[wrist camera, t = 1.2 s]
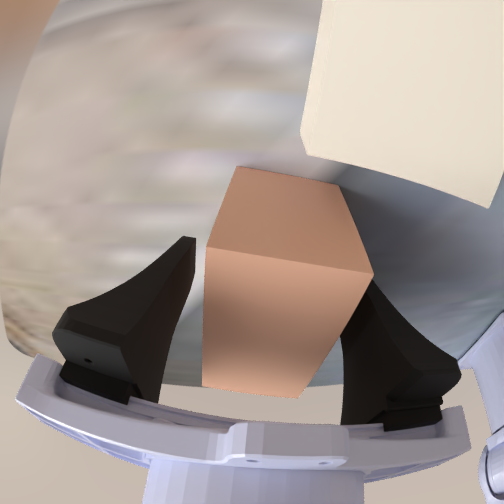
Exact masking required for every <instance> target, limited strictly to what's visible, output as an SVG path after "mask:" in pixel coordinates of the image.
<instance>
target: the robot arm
mask: <svg viewBox="0 0 504 504" xmlns="http://www.w3.org/2000/svg"><path fill="white" fill-rule="evenodd" d="M195 256H196V238H192V237H186V236H183V237H181V238H180V239H179V240H178V241H177V242H176V243H175V244H174V245H172V246H171V247H170V248H169V249H168V250H167V251H166V252H165V253H164V254H162V255H161V256H160V257H159V258H158V259H157V260H155V261H154V262H153V263H152V264H150V265H149V266H148V267H147V268H145V269H144V270H143V271H141V272H140V273H139V274H137V275H136V276H134V277H133V278H131V279H130V280H128V281H126V282H125V283H123V284H121V285H119V286H118V287H116V288H114V289H112V290H110V291H108V292H106V293H104V294H102V295H100V296H97V297H95V298H93V299H90V300H88V301H85V302H82V303H79V304H76V305H73V306H70V307H68V308H67V309H66V310H65V312H64V313H63V315H62V317H61V318H60V320H59V322H58V323H57V325H56V327H55V329H54V331H53V332H52V336H53V340H54V342H55V344H56V345H57V347H58V349H59V350H60V352H61V353H62V355H63V356H64V358H65V359H66V361H65V363H64V365H63V366H62V365H61V364H60V363H58V362H57V361H55V360H52V359H50V358H48V357H46V356H44V355H41V354H39V353H38V354H37V355H36V356H35V358H34V361H33V362H32V364H31V366H30V368H29V370H28V372H27V374H26V376H25V378H24V380H23V382H22V385H21V387H20V389H19V391H18V393H17V396H16V398H15V400H16V401H17V402H18V403H19V404H20V405H21V406H22V407H24V408H25V409H26V410H27V411H29V412H30V413H31V414H32V415H33V416H35V417H36V418H37V419H39V420H40V421H41V422H42V423H44V424H46V425H48V426H50V427H52V428H53V429H55V430H57V431H59V432H61V433H63V434H65V435H67V436H69V437H71V438H73V439H75V440H77V441H79V442H81V443H84V444H86V445H88V446H90V447H92V448H95V449H97V450H99V451H101V452H104V453H106V454H109V455H111V456H114V457H116V458H119V459H121V460H124V461H127V462H130V463H133V464H136V465H138V466H142V467H145V468H148V469H149V473H148V478H147V482H146V487H145V492H144V496H143V502H142V504H364V483H368V482H374V481H379V480H384V479H388V478H393V477H397V476H401V475H405V474H409V473H413V472H417V471H421V470H424V469H428V468H431V467H434V466H438V465H440V464H442V463H445V462H447V461H449V460H450V459H453V458H455V457H457V456H459V455H461V454H463V453H465V452H467V451H469V450H470V449H471V443H470V439H469V434H468V429H467V425H466V420H465V416H464V411H463V408H462V406H456V407H451V408H446V409H444V410H441V409H440V405H442V404H443V400H442V396H443V395H444V394H446V393H447V392H448V391H449V390H451V389H452V388H453V387H454V386H455V385H456V384H457V383H458V382H459V380H460V378H461V375H462V374H461V371H460V370H461V369H471V368H473V371H474V373H475V376H476V380H477V383H478V386H479V389H480V392H481V395H482V398H483V402H484V405H485V409H486V413H487V416H488V421H489V425H490V429H491V434H492V436H491V437H489V438H487V439H486V441H487V445H486V446H485V448H484V449H483V452H482V455H481V457H480V461H479V468H478V477H479V483H480V487H481V489H482V491H483V493H484V496H485V499H486V504H504V312H503V313H501V314H500V315H499V316H498V318H497V319H496V320H495V321H494V322H493V324H492V325H491V326H490V327H489V328H488V330H487V331H486V332H485V333H484V334H483V335H482V337H481V338H480V339H479V340H478V341H477V342H476V343H475V344H474V345H473V346H472V347H471V349H470V350H469V351H468V352H467V353H466V354H465V355H464V356H463V357H462V358H461V359H460V360H459V361H458V362H457V360H456V359H455V358H454V357H452V356H450V355H449V354H447V353H446V352H444V351H442V350H441V349H440V348H438V347H437V346H436V345H434V344H433V343H431V342H430V341H429V340H428V339H426V338H425V337H424V336H423V335H422V334H421V333H419V332H418V331H417V330H416V329H415V328H414V327H413V326H412V325H411V324H410V323H409V322H408V321H407V320H406V319H405V318H404V317H403V316H402V315H401V314H400V313H399V312H398V311H397V310H396V308H395V307H394V306H393V305H392V304H391V303H390V301H389V300H388V299H387V298H386V296H385V295H384V294H383V293H382V291H381V290H380V289H379V288H378V286H377V285H376V284H375V282H374V281H373V280H372V279H371V281H370V283H369V285H368V287H367V289H366V291H365V293H364V294H363V296H362V298H361V300H360V302H359V304H358V305H357V307H356V309H355V311H354V312H353V314H352V316H351V318H350V319H349V321H348V323H347V324H346V326H345V328H344V329H343V331H342V333H341V334H340V338H341V344H342V351H343V365H344V387H343V388H344V389H343V405H342V416H341V424H340V425H333V424H299V423H297V424H296V423H282V422H269V421H248V420H240V419H232V418H225V417H219V416H213V415H207V414H202V413H196V412H192V411H187V410H182V409H178V408H173V407H169V406H165V405H161V404H158V401H159V394H160V389H161V384H162V379H163V374H164V369H165V365H166V361H167V356H168V352H169V348H170V344H171V340H172V336H173V333H174V330H175V327H176V325H177V322H178V320H179V317H180V315H181V312H182V310H183V307H184V305H185V302H186V300H187V297H188V295H189V292H190V289H191V286H192V282H193V278H194V274H195Z"/></svg>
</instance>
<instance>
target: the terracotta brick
mask: <svg viewBox="0 0 504 504" xmlns="http://www.w3.org/2000/svg"><path fill="white" fill-rule="evenodd" d="M373 276H374V273H373V270H372V267H371V264H370V262H369V259H368V256H367V254H366V251H365V248H364V246H363V243H362V240H361V238H360V235H359V233H358V230H357V228H356V225H355V223H354V221H353V218H352V216H351V213H350V211H349V209H348V206H347V204H346V202H345V200H344V197H343V195H342V193H341V191H340V188H339V186H338V185H334V184H330V183H325V182H321V181H316V180H311V179H306V178H302V177H296V176H291V175H286V174H281V173H275V172H269V171H264V170H258V169H251V168H245V167H239V166H237V167H236V169H235V172H234V174H233V177H232V179H231V182H230V184H229V187H228V189H227V192H226V195H225V197H224V200H223V202H222V205H221V208H220V210H219V213H218V216H217V218H216V221H215V224H214V227H213V229H212V232H211V235H210V237H209V240H208V243H207V246H206V258H205V279H204V304H203V345H202V386H205V387H210V388H216V389H222V390H228V391H235V392H241V393H249V394H256V395H257V394H258V395H266V396H275V397H285V398H298V397H299V396H300V395H301V393H302V392H303V391H304V389H305V388H306V386H307V385H308V383H309V382H310V381H311V379H312V378H313V376H314V375H315V373H316V372H317V370H318V369H319V367H320V366H321V364H322V363H323V361H324V360H325V358H326V357H327V355H328V354H329V352H330V350H331V349H332V347H333V346H334V344H335V343H336V341H337V339H338V338H339V336H340V334H341V333H342V331H343V329H344V328H345V326H346V324H347V323H348V321H349V319H350V318H351V316H352V314H353V312H354V311H355V309H356V307H357V305H358V304H359V302H360V300H361V298H362V296H363V294H364V293H365V291H366V289H367V287H368V285H369V283H370V281H371V279H372V278H373Z"/></svg>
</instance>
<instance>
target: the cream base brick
mask: <svg viewBox="0 0 504 504" xmlns="http://www.w3.org/2000/svg"><path fill="white" fill-rule="evenodd" d="M300 135H301V138H302V141H303V144H304V147H305V150H306V153H307V155H310V156H315V157H320V158H325V159H330V160H334V161H338V162H343V163H347V164H351V165H355V166H359V167H363V168H367V169H371V170H375V171H379V172H382V173H386V174H389V175H393V176H396V177H400V178H403V179H407V180H410V181H413V182H416V183H419V184H422V185H426V186H429V187H432V188H435V189H437V190H440V191H443V192H446V193H449V194H452V195H454V196H457V197H460V198H462V199H465V200H468V201H470V202H473V203H475V204H478V205H480V206H483V207H485V208H487V209H489V206H490V204H491V202H492V200H493V197H494V195H495V192H496V190H497V188H498V185H499V183H500V180H501V177H502V175H503V172H504V0H323V4H322V10H321V16H320V23H319V29H318V35H317V41H316V46H315V52H314V58H313V64H312V69H311V75H310V80H309V86H308V91H307V97H306V102H305V108H304V113H303V118H302V123H301V128H300Z"/></svg>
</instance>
